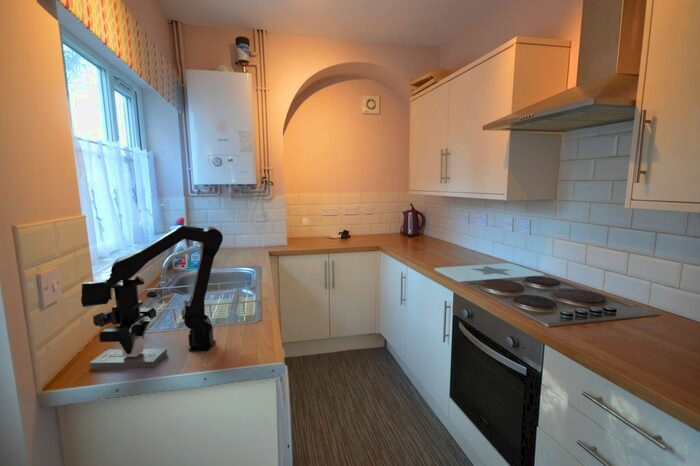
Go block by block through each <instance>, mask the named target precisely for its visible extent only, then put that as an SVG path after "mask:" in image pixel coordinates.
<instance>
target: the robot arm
mask: <svg viewBox="0 0 700 466" xmlns="http://www.w3.org/2000/svg"><path fill="white" fill-rule="evenodd" d="M183 240H189V241H192V242H197V243H200V256H199V261H198V265H197V270H196V273H195V274H196V275H195V280H194V283H193V288H192V292H191V296H190V298H189V299H188V300H183V308H182V309H181V311H180V313H181V318H182V320H183V322H184V325H185V327H186V328H188V329H189V334H188V335H187V337H188V345H189V346H188V347H189V348H188V352H207V351H208V352H209V351H210V350H211V348H212V347H213V346H214V345H215V343H216V340H214V330H213V329H214V327H213V324H212V322H211V319H210V317H209V316H208V315H206V314H205V313H206V312H205V311H206V310H205V299H206V295H207V290H208V287H209V286H208V285H209V282H210V277H211V273H212V268H213V264H214V263H213V262H214V261H215V260H214V259H215V257H216V255H217V253H218V252H219V249H220V248H221V245H222V242H223V240H224V236H223V233H222V232H221V231H220V230H218V229H217V228H216V227H213V226H207V227H205V228H203V227H202V228H201V227H197V226H196V227H195V226H187V225H185V224H180V225H178V226H176V227H175V228H174V229H173V230H171V231H169V232H168V233H166V234H165V235H163V236H162V237H159V238H158V239H156V240H154V241H153V242H151V243H150V244H148V245H146V246H145V247H143V248H142V249H139V250H136V251H133V252H131V253H128V254H125V255H123V256H120V257H119V258H117V259H116V260H114V262H113V264H112V266H111V269H110V274H109V275H107V277H106V278H105V280H100V281H99V280H98V281H85V282H82V284H81V296H80V302H81V306H82V307H83V308H88V307H95V306H101V305H108V304H109V302H110V301H113V298H115V299H114V300H115V305H113V306H112V308H111V310H108V311H105V312H99V313H97V314H95V315H93V316H92V318H93V321H92V322H93V325H95V327H99V328H104V326H106V325H109V324H111V325H112V326H111V325H110V326H108V327H107V328H104V329H103V330H101V332H99V333H98V341H99V343H119V344H120V346H121V348H122V347H123V349H124V350H125V352H126V354H131V352H132V348H133V344H134V339H135V336H142V339H143V338H144V336H145V333H146V331H147V329H148V327H149V324H150V323H151V322H150V321H147V320H146V319H145V318H146V317H148V318H149V319H150V320H152V319H153V320H154V318H156V317H157V310H156V309H155V308H154V307H141V306H142V305H143V303H144V302H143V300H140V297H139V288H138V286H142V285H144V284H145V279H144V278H141V277H140V276H139V275H136V274H137V273H138V272H139V271H141V269H142V268H143V267H144V266H145V265H146V264H148V263H149V262H151V260H153V259H154V258H156V257H158V256H160V255H161V254H163V253H164V252H166V251H167V250H169V249H170V248H173V247H174V246H175V245H177V244H178V243H180V242H182V241H183ZM134 275H136V276H135V277H134ZM132 277H134V278H132ZM121 281H122V282H121ZM113 289H114V293H113ZM113 295H114V296H113ZM115 325H116V326H115Z"/></svg>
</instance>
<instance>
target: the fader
mask: <svg viewBox="0 0 700 466" xmlns="http://www.w3.org/2000/svg"><path fill="white" fill-rule="evenodd" d="M143 344H144V343H143V338H142V336H135V339H134V344H133V348H132V352H131V354H126V352H125V350H124V349H123V347H122V346H121V349H122V354H123V357H137V356H138V355H139V354H140V353H142V352H143V349H144V345H143Z"/></svg>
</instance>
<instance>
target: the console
mask: <svg viewBox="0 0 700 466" xmlns="http://www.w3.org/2000/svg"><path fill="white" fill-rule="evenodd" d="M167 350H168V349H167V348H143V352H142V353H140V354H139V355H138V356H137V357H123V354H122V348H121V349H107V350H105V351H103V353H100V355H98V356H97V357H95V358H94V359H93V360H91V361H90V362H88V364H89V370H131V369H132V370H133V369H134V370H136V369H137V370H138V369H142V370H143V369H144V370H145V369H147V370H148V369H154V368H156V366H157V365H158V364H159V363H160V362H162V360H163V359H164V358H165V357H166V356H167V355H168V351H167Z"/></svg>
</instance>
